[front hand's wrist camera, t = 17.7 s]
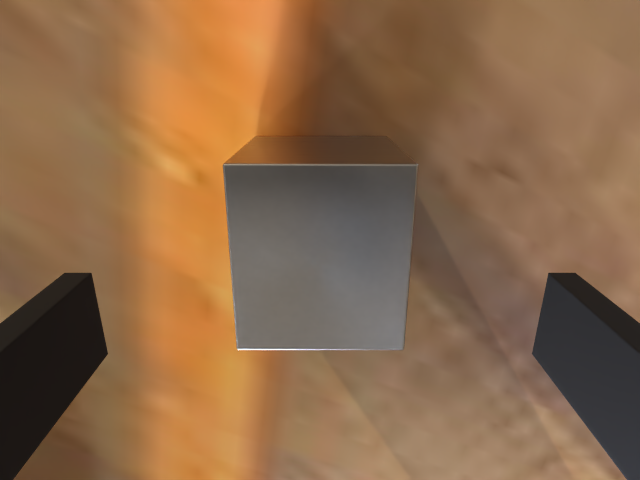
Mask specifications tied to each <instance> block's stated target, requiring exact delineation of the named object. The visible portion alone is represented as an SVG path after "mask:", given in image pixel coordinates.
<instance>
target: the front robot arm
mask: <svg viewBox="0 0 640 480" xmlns="http://www.w3.org/2000/svg"><path fill="white" fill-rule="evenodd" d="M107 354H108V352H107V347H106V342H105V337H104V332H103V327H102V322H101V318H100V313H99V308H98V303H97V298H96V293H95V288H94V283H93V278H92V273H64V274H63V275H61V276H60V277H59V278H58V279H56V280H55V281H54V282H53V283H51V284H50V285H49V286H47V287H46V288H45V289H44V290H42V291H41V292H40V293H39V294H37V295H36V296H35V297H33V298H32V299H31V300H30V301H28V302H27V303H26V304H24V305H23V306H22V307H21V308H19V309H18V310H17V311H16V312H14V313H13V314H12V315H10V316H9V317H8V318H7V319H5V320H4V321H3V322H2V323H0V480H13V479H14V478H15V476H16V475H17V474H18V472H19V471H20V470H21V468H22V467H23V466H24V464H25V463H26V462H27V460H28V459H29V458H30V456H31V455H32V454H33V452H34V451H35V450H36V448H37V447H38V446H39V444H40V443H41V442H42V440H43V439H44V438H45V437H46V435H47V434H48V433H49V431H50V430H51V429H52V427H53V426H54V425H55V423H56V422H57V421H58V419H59V418H60V417H61V415H62V414H63V413H64V411H65V410H66V409H67V407H68V406H69V405H70V403H71V402H72V401H73V399H74V398H75V397H76V395H77V394H78V393H79V391H80V390H81V389H82V387H83V386H84V385H85V384H86V382H87V381H88V380H89V378H90V377H91V376H92V374H93V373H94V372H95V370H96V369H97V368H98V366H99V365H100V364H101V362H102V361H103V360H104V358H105V357H106V356H107ZM532 354H533V356H534V357H535V358H536V360H537V361H538V362H539V364H540V365H541V366H542V368H543V369H544V370H545V372H546V373H547V374H548V376H549V377H550V378H551V380H552V381H553V382H554V384H555V385H556V386H557V387H558V389H559V390H560V391H561V393H562V394H563V395H564V397H565V398H566V399H567V401H568V402H569V403H570V405H571V406H572V407H573V409H574V410H575V411H576V413H577V414H578V415H579V417H580V418H581V419H582V421H583V422H584V423H585V425H586V426H587V427H588V429H589V430H590V431H591V433H592V434H593V435H594V437H595V438H596V439H597V440H598V442H599V443H600V444H601V446H602V447H603V448H604V450H605V451H606V452H607V454H608V455H609V456H610V458H611V459H612V460H613V462H614V463H615V464H616V466H617V467H618V468H619V470H620V471H621V472H622V474H623V475H624V476H625V478H626V479H627V480H640V323H638V322H637V321H636V320H635V319H633V318H632V317H631V316H630V315H628V314H627V313H626V312H624V311H623V310H622V309H621V308H619V307H618V306H617V305H616V304H614V303H613V302H612V301H610V300H609V299H608V298H607V297H605V296H604V295H603V294H601V293H600V292H599V291H598V290H596V289H595V288H594V287H593V286H591V285H590V284H589V283H587V282H586V281H585V280H584V279H582V278H581V277H580V276H579V275H577V274H576V273H548V278H547V283H546V288H545V293H544V298H543V303H542V308H541V313H540V318H539V322H538V327H537V332H536V337H535V342H534V347H533V352H532Z"/></svg>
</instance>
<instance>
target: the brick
mask: <svg viewBox="0 0 640 480" xmlns="http://www.w3.org/2000/svg"><path fill="white" fill-rule="evenodd" d="M223 173H224V186H225V199H226V212H227V225H228V239H229V252H230V265H231V278H232V291H233V304H234V318H235V331H236V344H237V349H238V350H404V344H405V331H406V318H407V305H408V293H409V280H410V267H411V254H412V241H413V229H414V216H415V203H416V190H417V177H418V164H417V163H416V162H415V161H414V160H413V159H412V158H410V157H409V156H408V155H407V154H406V153H405V152H404V151H403V150H401V149H400V148H399V147H398V146H397V145H396V144H395V143H394V142H393V141H391V140H390V139H389V138H388V137H387V136H255V137H254V138H253V139H251V140H250V141H249V142H248V143H247V144H246V145H245V146H243V147H242V148H241V149H240V150H239V151H238V152H237V153H235V154H234V155H233V156H232V157H231V158H230V159H229V160H227V161H226V162H225V163H224V164H223Z"/></svg>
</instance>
